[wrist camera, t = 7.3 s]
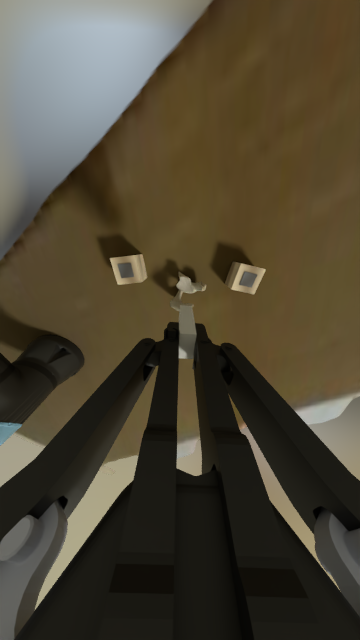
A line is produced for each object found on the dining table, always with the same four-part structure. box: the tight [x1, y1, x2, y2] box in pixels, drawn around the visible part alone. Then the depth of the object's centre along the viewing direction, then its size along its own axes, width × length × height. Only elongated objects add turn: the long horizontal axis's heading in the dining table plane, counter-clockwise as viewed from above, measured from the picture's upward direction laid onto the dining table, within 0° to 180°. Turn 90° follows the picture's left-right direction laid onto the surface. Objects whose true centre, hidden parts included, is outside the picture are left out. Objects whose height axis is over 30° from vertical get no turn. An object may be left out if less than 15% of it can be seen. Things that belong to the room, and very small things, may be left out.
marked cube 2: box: [110, 254, 147, 285], centre depth 29 cm, size 5×5×5 cm
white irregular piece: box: [170, 271, 207, 311], centre depth 30 cm, size 9×6×10 cm
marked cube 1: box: [225, 261, 266, 294], centre depth 29 cm, size 5×5×5 cm
